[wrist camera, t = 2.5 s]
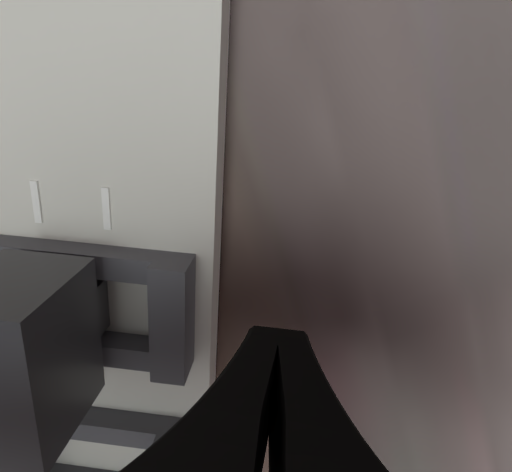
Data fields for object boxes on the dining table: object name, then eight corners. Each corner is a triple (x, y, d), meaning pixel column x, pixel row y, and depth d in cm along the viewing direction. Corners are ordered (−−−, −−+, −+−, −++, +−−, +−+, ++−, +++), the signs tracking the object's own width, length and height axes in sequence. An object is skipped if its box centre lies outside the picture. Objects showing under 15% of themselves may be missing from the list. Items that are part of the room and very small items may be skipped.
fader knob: (48, 349, 13) (-62, 468, 9) (32, 232, 12) (-107, 311, 8) (121, 358, 13) (42, 482, 9) (114, 240, 11) (16, 325, 7)
